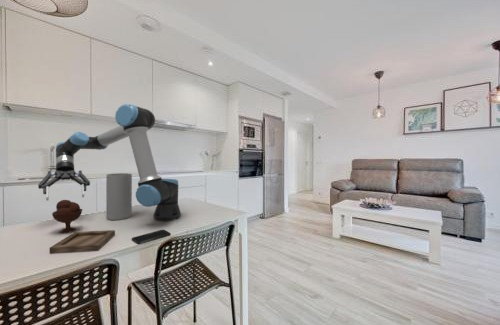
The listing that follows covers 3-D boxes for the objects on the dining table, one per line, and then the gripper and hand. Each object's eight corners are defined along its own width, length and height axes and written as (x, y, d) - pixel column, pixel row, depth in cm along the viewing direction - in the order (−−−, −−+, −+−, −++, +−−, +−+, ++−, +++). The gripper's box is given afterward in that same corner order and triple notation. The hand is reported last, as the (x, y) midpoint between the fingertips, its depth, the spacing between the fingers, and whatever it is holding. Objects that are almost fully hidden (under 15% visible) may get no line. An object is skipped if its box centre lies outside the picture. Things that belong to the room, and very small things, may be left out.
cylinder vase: (119, 213, 132) (120, 172, 130) (136, 215, 128) (136, 174, 127) (100, 219, 120) (100, 174, 118) (118, 221, 116) (118, 176, 115)
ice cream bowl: (62, 236, 94) (62, 203, 94) (47, 232, 98) (46, 200, 98) (87, 229, 104) (87, 198, 104) (73, 225, 108) (72, 196, 107)
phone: (171, 233, 100) (138, 243, 89) (171, 235, 100) (138, 245, 89) (163, 229, 105) (130, 237, 94) (163, 231, 105) (130, 240, 94)
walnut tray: (114, 234, 98) (114, 230, 98) (97, 250, 83) (97, 245, 83) (75, 236, 95) (75, 231, 95) (49, 253, 79) (49, 247, 79)
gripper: (92, 169, 128) (95, 198, 117) (33, 170, 111) (31, 204, 100) (93, 160, 123) (97, 190, 113) (32, 160, 107) (29, 195, 96)
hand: (66, 197), depth 107 cm, fingers open, 13 cm apart
